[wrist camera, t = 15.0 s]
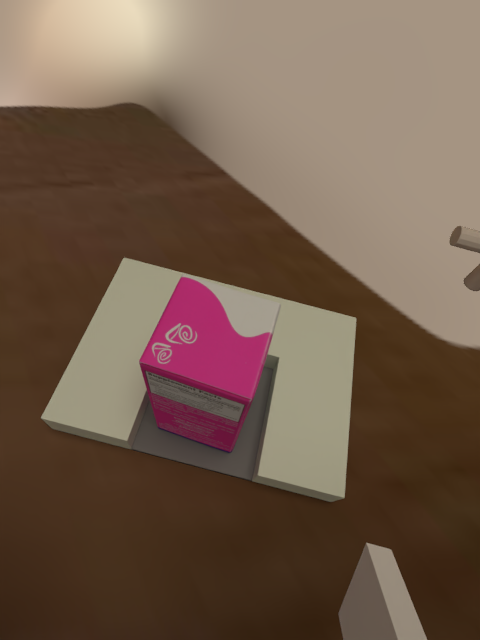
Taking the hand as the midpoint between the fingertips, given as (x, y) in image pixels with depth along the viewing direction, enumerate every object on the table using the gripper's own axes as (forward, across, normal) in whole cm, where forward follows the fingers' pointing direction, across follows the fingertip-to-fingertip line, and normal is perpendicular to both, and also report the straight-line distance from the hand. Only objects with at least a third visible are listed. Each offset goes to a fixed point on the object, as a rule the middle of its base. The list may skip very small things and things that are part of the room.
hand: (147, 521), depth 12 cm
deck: (+18, 0, -2) cm, 18 cm away
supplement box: (+16, 0, -4) cm, 17 cm away
